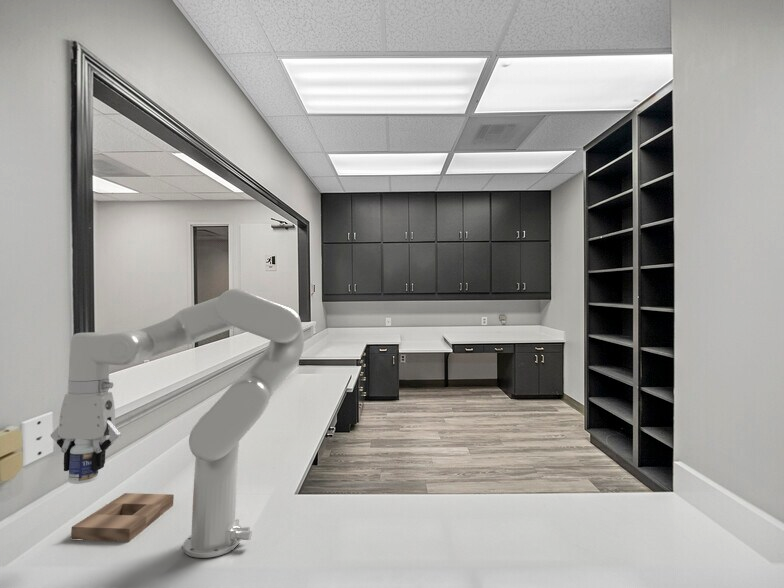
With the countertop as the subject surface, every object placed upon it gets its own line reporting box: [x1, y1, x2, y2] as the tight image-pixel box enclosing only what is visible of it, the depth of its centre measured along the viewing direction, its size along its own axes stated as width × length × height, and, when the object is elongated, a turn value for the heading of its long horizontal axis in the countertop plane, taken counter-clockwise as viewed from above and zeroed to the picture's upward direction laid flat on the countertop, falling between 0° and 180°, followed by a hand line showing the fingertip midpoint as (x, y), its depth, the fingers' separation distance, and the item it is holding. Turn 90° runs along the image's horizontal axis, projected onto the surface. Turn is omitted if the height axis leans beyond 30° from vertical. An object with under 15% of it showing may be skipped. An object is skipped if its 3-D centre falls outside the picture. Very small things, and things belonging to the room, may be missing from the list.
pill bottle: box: [68, 439, 99, 485], centre depth 96 cm, size 5×5×10 cm
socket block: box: [70, 492, 175, 543], centre depth 112 cm, size 14×20×3 cm
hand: (84, 468), depth 96 cm, fingers closed on pill bottle, 5 cm apart
